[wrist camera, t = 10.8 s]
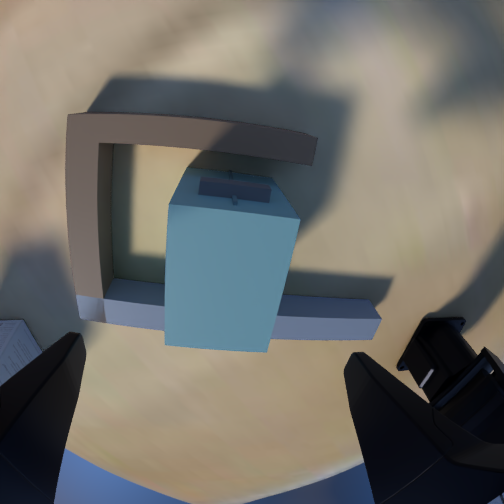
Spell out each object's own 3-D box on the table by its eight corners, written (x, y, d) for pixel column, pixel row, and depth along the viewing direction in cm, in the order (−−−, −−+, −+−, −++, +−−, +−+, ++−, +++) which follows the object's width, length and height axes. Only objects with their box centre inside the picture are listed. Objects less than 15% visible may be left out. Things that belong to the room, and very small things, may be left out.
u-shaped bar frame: (414, 162, 18) (435, 171, 16) (360, 319, 24) (371, 339, 22) (86, 112, 15) (67, 114, 13) (91, 297, 20) (80, 318, 18)
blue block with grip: (273, 167, 18) (303, 204, 12) (252, 278, 21) (266, 352, 15) (188, 157, 17) (170, 188, 11) (178, 271, 20) (164, 344, 14)
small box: (-13, 318, 21) (-63, 396, 11) (24, 317, 21) (-29, 408, 11) (24, 377, 24) (-8, 454, 15) (62, 380, 24) (32, 467, 15)
